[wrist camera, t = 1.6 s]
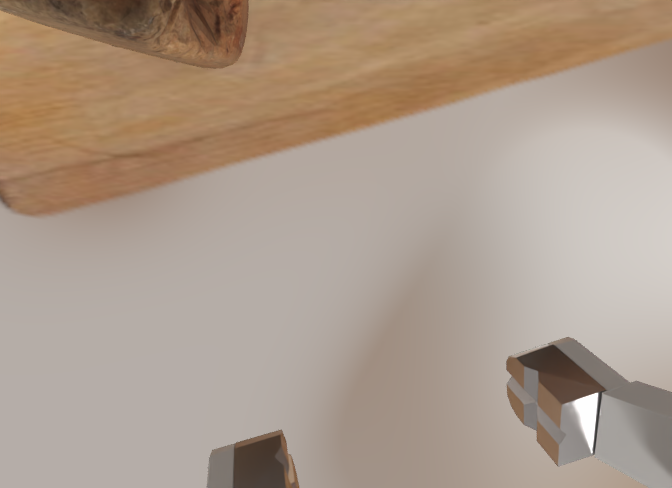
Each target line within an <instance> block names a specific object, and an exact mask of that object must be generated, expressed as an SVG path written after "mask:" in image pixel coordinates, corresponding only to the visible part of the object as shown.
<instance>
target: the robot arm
mask: <svg viewBox="0 0 672 488" xmlns="http://www.w3.org/2000/svg"><path fill="white" fill-rule="evenodd" d="M506 365H507V366H506V369H507V371H508V372H509V373H510V374H511V375H512V377H511V378H510V380H509V382H508V383H507V395H508V398H509V401H510V404H511V407H512V409H513V410H514V412H515V414H516V415H517V417H518V418H519V419H520V421H521V422H522V423H523V424H524V425H525V426H528V427H530V428H532V429H534V430H536V431H537V442H538V443H539V444H540V445H541V447H542V448H543V449H544V450H545V451H546V453H547V454H548V455H549V456H550V457H551V459H552V460H553V461H554V462H555V464H556V465H557V466H561V465H565V464H567V463H571V462H574V461H577V460H580V459H583V458H586V457H589V456H592V455H595V458H597V459H599V460H601V461H602V462H604V463H606V464H608V465H609V466H611V467H613V468H615V469H617V470H618V471H620V472H622V473H624V474H626V475H627V476H629V477H631V478H633V479H635V480H636V481H638V482H640V483H642V484H643V485H645V486H647V487H649V488H672V392H670V391H667V390H663V389H660V388H657V387H654V386H651V385H648V384H645V383H642V382H638V381H635V382H631V383H630V382H628V381H627V380H626V379H625V378H624V377H622V376H621V375H619V374H618V373H617V372H616V371H615V370H613V369H612V368H611V367H609V366H608V365H607V364H605V363H604V362H603V361H602V360H601V359H599V358H598V357H597V356H595V355H594V354H593V353H592V352H590V351H589V350H588V349H586V348H585V347H584V346H583V345H581V344H580V343H578V342H577V341H576V340H575V339H573V338H570V337H566V338H563V339H560V340H557V341H554V342H551V343H548V344H544V345H541V346H538V347H535V348H532V349H529V350H526V351H523V352H520V353H517V354H515V355H511V356H509V357H508V359H507V361H506ZM207 488H299V483H298V478H297V473H296V469H295V466H294V463H293V459H292V456H291V455H290V454H288V451H287V443H286V439H285V437H284V434H283V431H282V430H278V431H275V432H272V433H268V434H264V435H261V436H257V437H254V438H251V439H247V440H244V441H240V442H237V443H235V444H231V445H228V446H225V447H221V448H218V449H214V450H212V452H211V455H210V458H209V466H208V478H207Z"/></svg>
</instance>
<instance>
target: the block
mask: <svg viewBox="0 0 672 488" xmlns="http://www.w3.org/2000/svg"><path fill="white" fill-rule="evenodd" d="M248 9H249V6H248V0H0V10H1V11H4V12H6V13H9V14H12V15H15V16H18V17H21V18H24V19H27V20H30V21H33V22H36V23H39V24H42V25H45V26H49V27H52V28H56V29H59V30H62V31H66V32H69V33H72V34H76V35H79V36H83V37H86V38H89V39H92V40H96V41H100V42H103V43H107V44H110V45H112V46H115V47H121V48H125V49H129V50H132V51H136V52H140V53H144V54H148V55H151V56H155V57H159V58H164V59H168V60H172V61H175V62H181V63H185V64H189V65H193V66H197V67H201V68H213V69H216V68H224V67H227V66H230V65H232V64H234V63H235V62H236V61H237V60H238V58H239V57H240V55H241V53H242V50H243V46H244V42H245V37H246V31H247V22H248Z"/></svg>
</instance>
